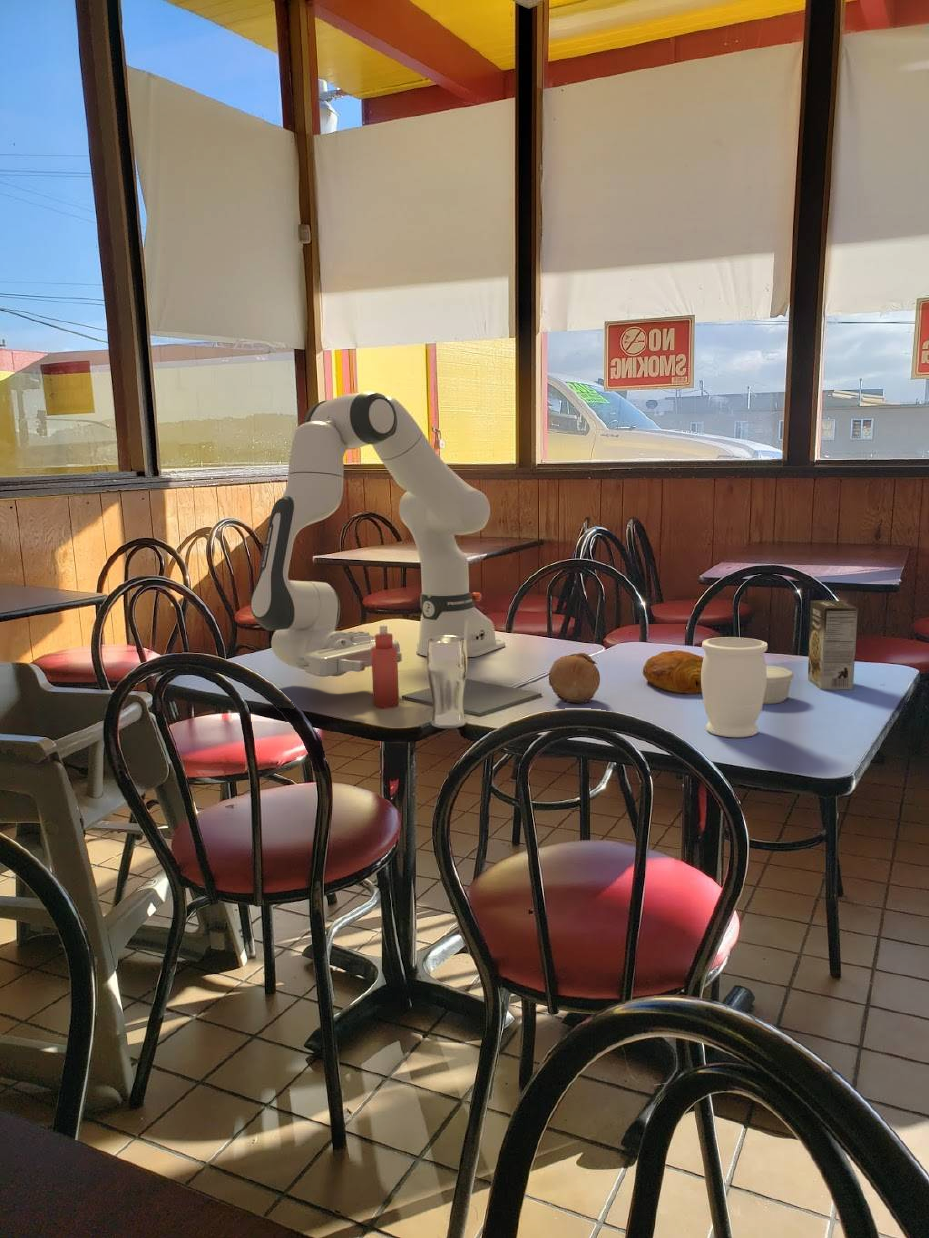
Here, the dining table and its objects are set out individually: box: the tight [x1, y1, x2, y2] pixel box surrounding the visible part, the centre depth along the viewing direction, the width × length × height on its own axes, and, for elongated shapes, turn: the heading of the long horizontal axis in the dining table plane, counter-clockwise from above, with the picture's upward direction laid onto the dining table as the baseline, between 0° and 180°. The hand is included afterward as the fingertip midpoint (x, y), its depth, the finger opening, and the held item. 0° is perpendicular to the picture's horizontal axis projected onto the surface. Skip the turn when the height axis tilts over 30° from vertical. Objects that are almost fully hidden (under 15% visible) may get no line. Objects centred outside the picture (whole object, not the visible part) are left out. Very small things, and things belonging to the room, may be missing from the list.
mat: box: [401, 678, 543, 717], centre depth 183 cm, size 18×20×1 cm
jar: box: [701, 636, 768, 738], centre depth 156 cm, size 11×10×15 cm
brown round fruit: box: [548, 652, 601, 704], centre depth 178 cm, size 10×9×10 cm
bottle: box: [371, 625, 400, 709], centre depth 178 cm, size 5×5×15 cm
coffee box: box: [807, 599, 858, 691], centre depth 186 cm, size 9×6×16 cm
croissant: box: [642, 649, 704, 695], centre depth 189 cm, size 14×16×8 cm
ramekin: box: [763, 664, 794, 705], centre depth 178 cm, size 11×11×5 cm
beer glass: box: [426, 636, 468, 729], centre depth 164 cm, size 7×7×15 cm
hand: (380, 662), depth 178 cm, fingers open, 8 cm apart
